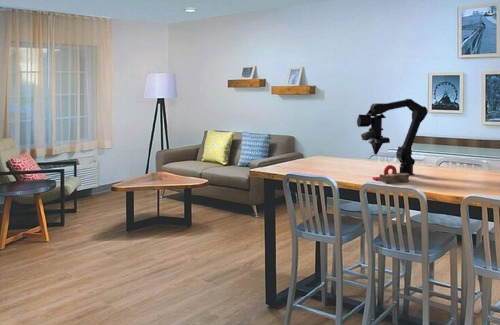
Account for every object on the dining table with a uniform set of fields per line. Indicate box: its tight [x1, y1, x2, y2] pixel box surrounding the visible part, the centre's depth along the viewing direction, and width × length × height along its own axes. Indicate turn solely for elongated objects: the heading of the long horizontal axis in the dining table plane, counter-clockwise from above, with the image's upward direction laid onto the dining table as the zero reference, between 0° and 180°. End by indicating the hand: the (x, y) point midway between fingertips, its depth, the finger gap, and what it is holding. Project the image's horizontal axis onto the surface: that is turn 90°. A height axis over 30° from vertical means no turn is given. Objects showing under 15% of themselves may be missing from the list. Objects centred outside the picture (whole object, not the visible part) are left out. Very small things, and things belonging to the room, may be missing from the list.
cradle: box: [379, 172, 410, 185], centre depth 255 cm, size 13×8×5 cm, turn 107°
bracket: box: [372, 164, 398, 181], centre depth 262 cm, size 12×4×8 cm, turn 100°
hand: (375, 154), depth 271 cm, fingers closed
